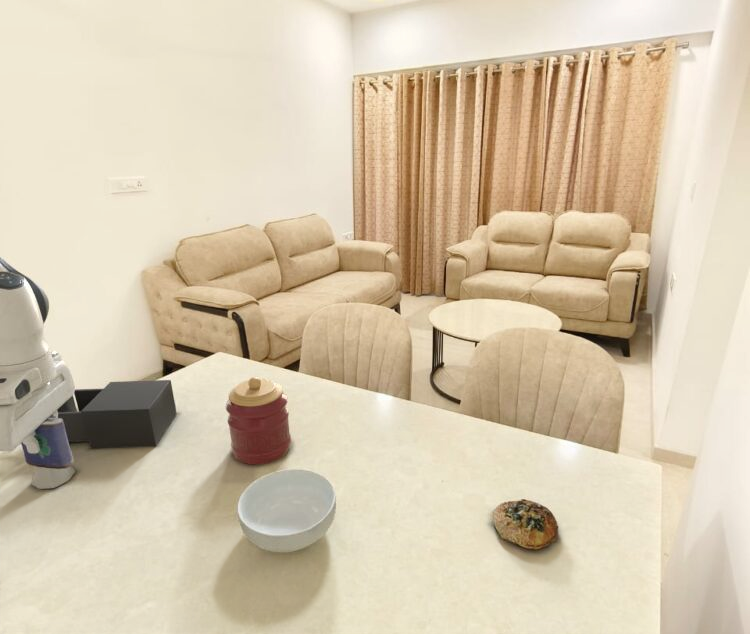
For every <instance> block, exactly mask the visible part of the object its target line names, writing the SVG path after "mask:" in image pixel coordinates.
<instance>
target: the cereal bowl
mask: <svg viewBox="0 0 750 634" xmlns="http://www.w3.org/2000/svg"><path fill="white" fill-rule="evenodd" d="M237 501H238V502H237V505H236V506H237V507H236V511H237V519H238V522H239V526H240V528H241V530H242V532H243V534H244V535H245V537H246V538H247V539H248V541H250V542H251V543H252V544H253V545H255V546H256V547H258V548H260V549H261V550H265V551H267V552H271V553H272V552H273V553H284V554H285V553H291V552H296V551H299V550H300V551H301V550H302V549H305V548H307V547H309V546H311V545H313V544H314V543H316V542H317V541H319V540H320V539H321V538H322V537H323V536H324V535H325V534H326V533H327V532H328V531H329V529H330V528H331V525H332V524H333V521H334V518H335V515H336V512H337V496H336V491H335V487H334V486H333V484H332V483H331V481H330V480H329V479H328V478H327V477H326V476H324V475H322V474H321V473H318V472H316V471H314V470H309V469H302V468H289V469H288V468H287V469H282V470H277V471H273V472H270V473H267V474H265V475H263V476H261V477H259V478H257V479H256V480H254V481H253V482H251V483H250V484H249V485H248V486H247V487H246V488H245V489H244V490H243V491H242V493H241V495H240V497H239V499H238V500H237Z"/></svg>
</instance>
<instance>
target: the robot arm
mask: <svg viewBox="0 0 750 634" xmlns="http://www.w3.org/2000/svg"><path fill="white" fill-rule="evenodd" d="M49 310H50V300H49V298H48V295H47V292H45V290H44V289H43V288H42V287H41V286H40V285H39V284H38V283H37V282H35V280H33V279H31V278H30V277H28V276H26V275H25V274H24V273H21V272H20V271H18V270H17V269H15V268H14V267H13V266H12V265H10V264H9V263H8V262H7V261H6V260H5V259H4V258H2V257H1V256H0V452H11V451H14V450H16V448H17V447H18V446H20V444H21V442H22V443H23V444H25V445H26V447H27V451H28V452H29V453H38V452H39V451H40V450H41V449H42V448H43V445H42V440H41V439H40V440H37V439H36V438H35V437H34V436H35V434H36V433H35V430H36V429H37V428H38V427H39V426H40V425H41V424H42V423H43V422H44V421H45V420H46V419H48V418H58V411H57V409H58V408H60V407H61V406H62V405H63V404H64V403H65V402H66V401H67V400H68V399H69V398H70V397H72V396H73V397H74V396H75V394H74V392H75V389H76V384H75V382H74V378H73V376H72V373H71V371H70V368H69V365H68V364H67V363H66V362H65V361H64V360H63V357H62V355H61V353H59V352H57V351H55V350H51V347H50V345H49V343H48V342H47V340H46V338H45V335H44V328H45V326H44V325H45V322H46V320H47V319H48V316H49Z"/></svg>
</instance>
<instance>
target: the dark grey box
mask: <svg viewBox="0 0 750 634" xmlns="http://www.w3.org/2000/svg"><path fill="white" fill-rule="evenodd" d="M102 389H103V390H102V391H101V392H100V393H99V394H98V395H97V396H96V397H95V398H94V399H93V400H92V401H91V402H90V403H89V404H88V405H87V406H86V407H85V408H84V409H83V410H82V411H81V414H82V418H83V422H84V425H85V429H86V433H87V437H88V441H87V442H88V445H89V447H90V449H91V450H94V449H96V450H97V449H120V448H146V447H147V448H148V447H149V448H150V447H157V446H158V445H159V443H160V442H161V440H162V438H163V436H164V435H165V434H166V432H167V430H168V428H169V427H170V426H171V424H172V422H173V421H174V419H175V418H176V416H177V415H178V413H177V408H176V407H177V406H176V403H175V397H174V391H173V384H172V380H171V379H158V380H129V381H109V382H108V383H107V384H106V386H105V387H104V388H102Z"/></svg>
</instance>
